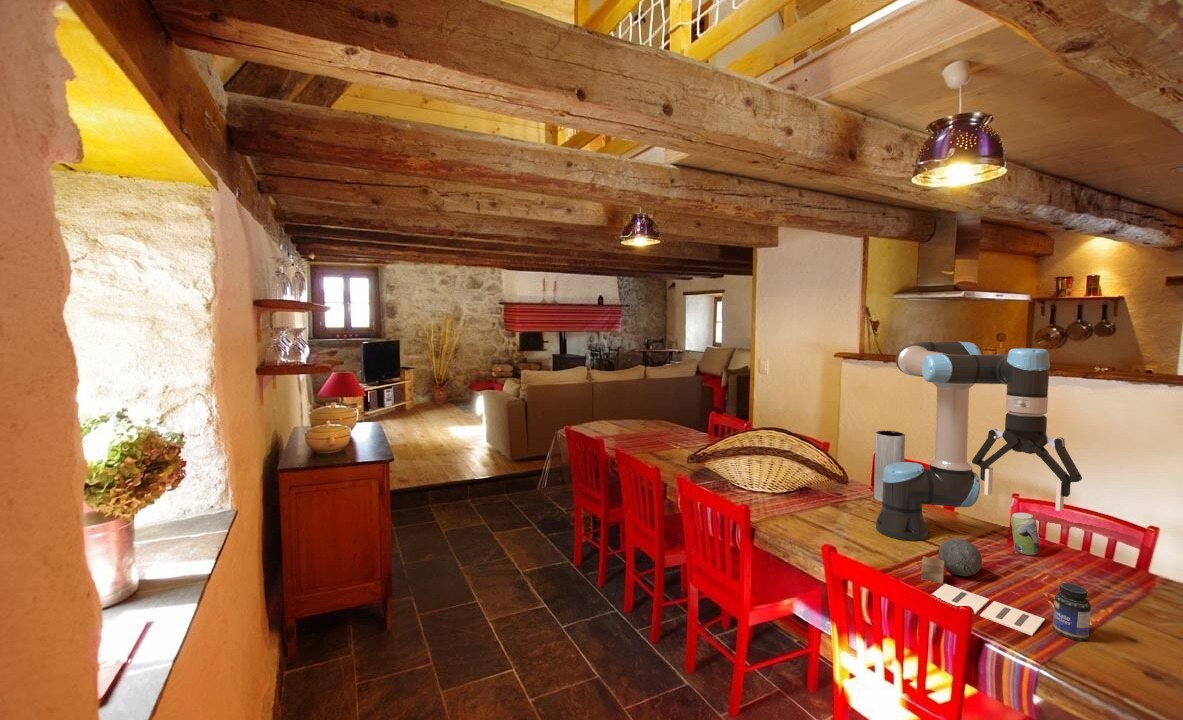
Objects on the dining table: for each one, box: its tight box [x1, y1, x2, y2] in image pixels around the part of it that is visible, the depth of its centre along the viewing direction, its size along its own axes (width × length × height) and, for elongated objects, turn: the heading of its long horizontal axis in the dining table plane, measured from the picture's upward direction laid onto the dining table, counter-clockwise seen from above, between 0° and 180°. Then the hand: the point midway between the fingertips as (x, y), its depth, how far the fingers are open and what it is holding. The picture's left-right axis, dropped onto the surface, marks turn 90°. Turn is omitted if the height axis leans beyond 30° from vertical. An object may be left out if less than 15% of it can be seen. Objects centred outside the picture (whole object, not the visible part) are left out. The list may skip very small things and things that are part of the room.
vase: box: [873, 430, 906, 503], centre depth 206 cm, size 10×10×27 cm
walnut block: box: [920, 555, 945, 585], centre depth 144 cm, size 5×5×5 cm
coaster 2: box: [979, 600, 1046, 637], centre depth 125 cm, size 10×10×1 cm
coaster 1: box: [931, 583, 990, 615], centre depth 134 cm, size 10×10×1 cm
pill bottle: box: [1052, 582, 1092, 642], centre depth 119 cm, size 6×6×11 cm
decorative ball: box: [938, 538, 983, 577], centre depth 147 cm, size 10×10×10 cm
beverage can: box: [1010, 512, 1041, 556], centre depth 159 cm, size 6×7×12 cm
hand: (1022, 501), depth 124 cm, fingers open, 13 cm apart
